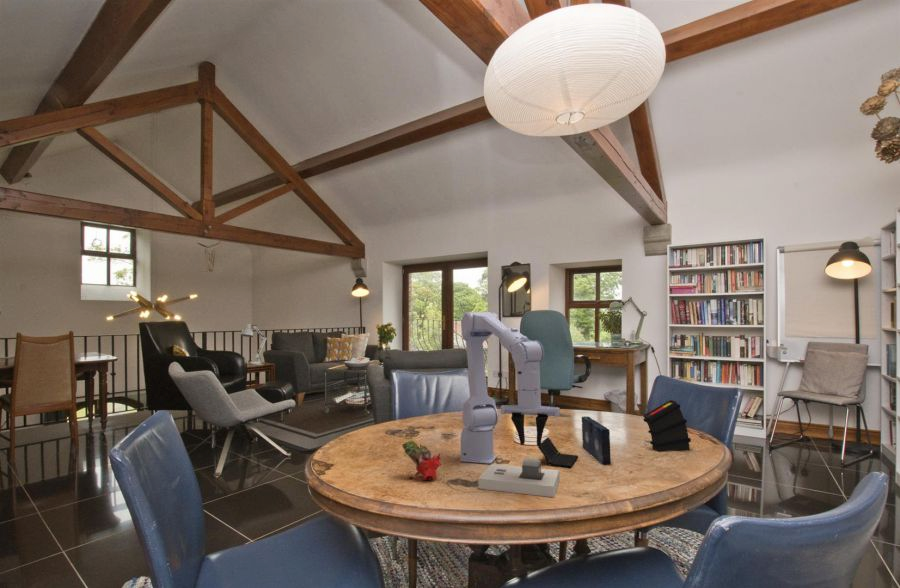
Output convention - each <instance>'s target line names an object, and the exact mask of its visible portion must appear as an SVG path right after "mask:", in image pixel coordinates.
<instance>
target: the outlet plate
mask: <svg viewBox="0 0 900 588" xmlns="http://www.w3.org/2000/svg"><path fill="white" fill-rule="evenodd" d="M560 479H561V477H560V470H559V469H549V468H541V480H533V479H523V478H522V466H520V465H519V466H517V465H507V464H506V465H505V464H497V463H495V464H494V463H491V464H489V465H488V467H486V469H485V470H484V472H483V473H481V475H480V476H479V477H478V479H477V480H478V489H481V490H487V491H488V490H489V491H496V492H506V493H514V494H521V495H531V496H541V497H547V498H549V497H550V498H554V497H555V495H556V492H557V488H558V486H559V482H560Z"/></svg>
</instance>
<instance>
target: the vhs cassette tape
mask: <svg viewBox="0 0 900 588" xmlns="http://www.w3.org/2000/svg"><path fill="white" fill-rule="evenodd" d="M610 432H611V431H610V429H609V428H607V427H606V426H604V425H603V424H601V423H599V422H598V421H596V420H595V419H593V418H592V417H590V416H581V437H582V449H584V451H586V452H587V453H588V454H590V456H591V457H593V458H594V459H595V460H596V461H598V463H600V464H601V465H602V466H607V465H609V466H610V465H612V464H611V440H610V439H611V438H610V437H611V435H610Z"/></svg>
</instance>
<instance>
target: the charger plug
mask: <svg viewBox="0 0 900 588" xmlns="http://www.w3.org/2000/svg"><path fill="white" fill-rule="evenodd" d="M521 467H522V478H523V479H533V480H541V469H542V463H541V461H540V458H528V457H524V460H523V462H522V465H521Z"/></svg>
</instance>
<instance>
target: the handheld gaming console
mask: <svg viewBox="0 0 900 588" xmlns="http://www.w3.org/2000/svg"><path fill="white" fill-rule="evenodd" d="M537 448H538V450H540V452H541V453H542V454H543V456H544V457H545V459H546V460H547V462H548V463H549V467H554V468H562V469H572V468H573V467H574V465H575V463H576V462H577V460H578V459H579V455H576V454H570V453H569V454H567V453H561V452H560V451H559V450H558V449H557V447H556V446H555V445H554V443H553V442H552V440H551V439H550V437H546V438H545V439H544V440H542V441H541V445H540V446H537Z"/></svg>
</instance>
